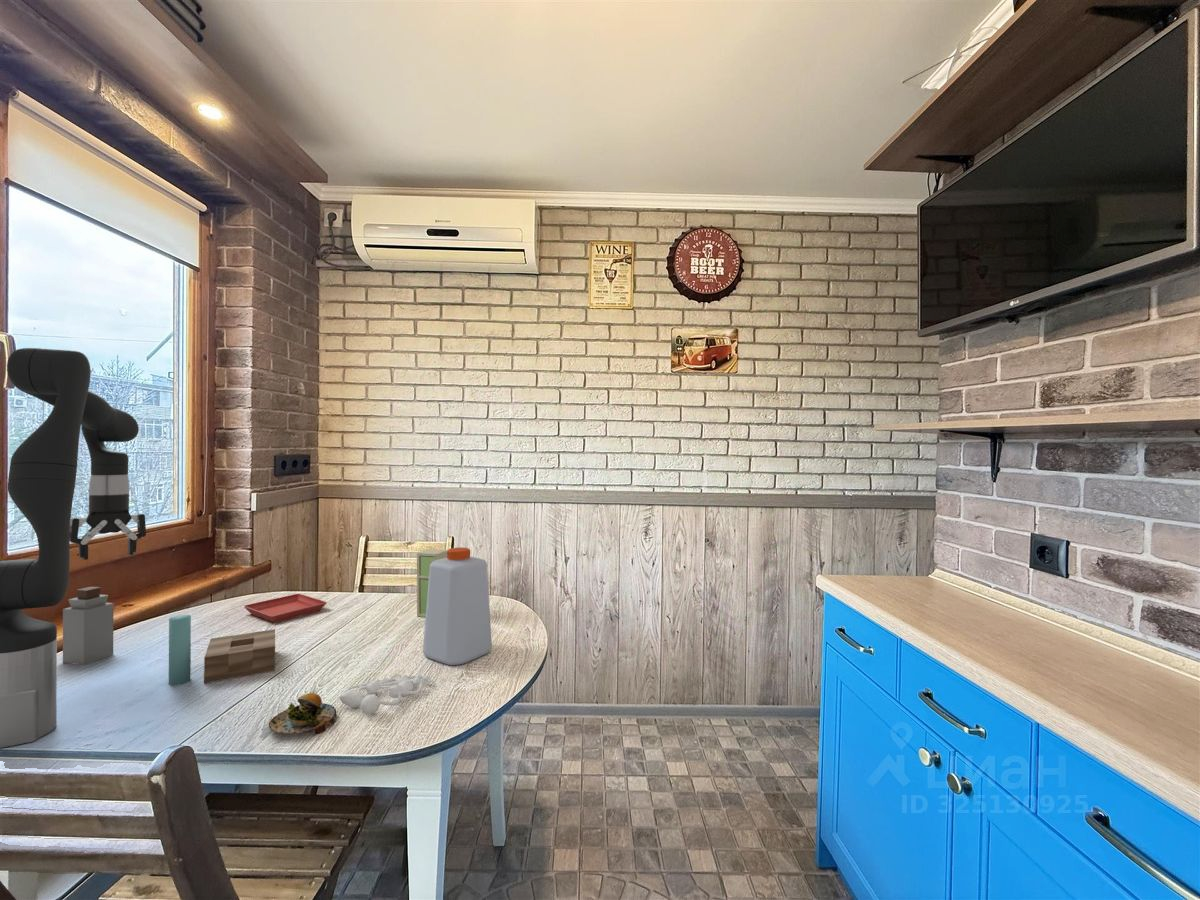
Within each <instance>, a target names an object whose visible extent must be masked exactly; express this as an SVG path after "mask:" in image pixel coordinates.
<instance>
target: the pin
mask: <svg viewBox="0 0 1200 900" xmlns="http://www.w3.org/2000/svg"><path fill="white" fill-rule="evenodd" d="M191 619H192V616H191V614H179V615H175V616H171V617H169V618H168V685H170V686H179V685H183V684H186V683H188V682H190V681H191V675H192V674H191V671H192V670H191V668H192V667H191V665H192V664H191V663H192V662H191V661H192V660H191V657H192V655H191V654H192V653H191V652H192V649H191V648H192V641H191V639H192V638H191V635H192V629H191V628H192V620H191Z"/></svg>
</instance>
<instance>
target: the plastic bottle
mask: <svg viewBox="0 0 1200 900" xmlns="http://www.w3.org/2000/svg"><path fill="white" fill-rule="evenodd" d="M447 550H448V551H447V558H443V559H439V560H435V561H433V562H432V563H431V564H430V569H429V581H428V594H427V606H426V617H424V618H425V619H424V620H425V621H424V632H423V633H424V634H423V644H422V645H423V646H422V654H423V656H425V657H426V658H428V659H431V660H433V661H436V662H439V663H442V664H444V665H449V666H458V665H460V666H461V665H463V664H467V663H469V662H471V661H473V660H476V659H478V658H480V657H482V656H485V655H486V654H489V653H490V651H491V650H492V647H493V644H492V642H493V641H492V628H491V627H492V626H491V623H492V622H491V611H490V610H491V609H490V594H489V592H490V591H489V577H488V563H487V561H486V560H485V559H483V558H480V557H474V556H471V549H469V547H452V548H449V549H447Z"/></svg>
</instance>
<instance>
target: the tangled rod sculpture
mask: <svg viewBox="0 0 1200 900" xmlns="http://www.w3.org/2000/svg"><path fill="white" fill-rule="evenodd" d="M396 677H400V678H396ZM430 677H431V676H430V675H429V674H428V675H426V674H425V675H422V674H421V673H417V674H416V675H407V674H403V675H402V674H392V675H391V676H388V677H384V678H380V679H376V680H370V681H366V682H364V683H361V684H357V685H353V686H349V687H347V688H346V689H345V691H344V692H342V693H341V694H340V695H339V701H341V703H343V704H344V705H346V706H348V707H349V708H351V709H356V708H360V710H361V712H362V713H363V714H365V715H367V716H370V715H374V714H375V713H377V712H378V711H379V709H380V706H381V705H384V706H391V707H392V706H397V705H398V704H399V703H401V700H402V698H403V697H407V696H414V695H419V694H420V693H421V692H422V689H423V687H424V684H430V683H431V680H430ZM414 686H416V687H417V686H419V687H418V688H417V690H414ZM356 688H357V689H356ZM353 689H356V690H353ZM363 690H366V692H367V694H364V693H362V691H363ZM384 691H385V692H386V693H387V694H388V696H389V698H392V699H396V700H395V701H386V700H382V699H380V698H379V696H377V694H380V693H382V692H384Z"/></svg>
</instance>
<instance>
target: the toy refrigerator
mask: <svg viewBox="0 0 1200 900" xmlns="http://www.w3.org/2000/svg"><path fill="white" fill-rule="evenodd" d="M448 550H449V549H440V548H438V549H437V548H427V549H424V550H420V551H418V552H416V616H417V617H420V618H422V617H423V618H426V606H427V594H428V581H429V569H430V564H431V563H432V562H433V561H435V560H439V559H443V558H447V551H448Z"/></svg>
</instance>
